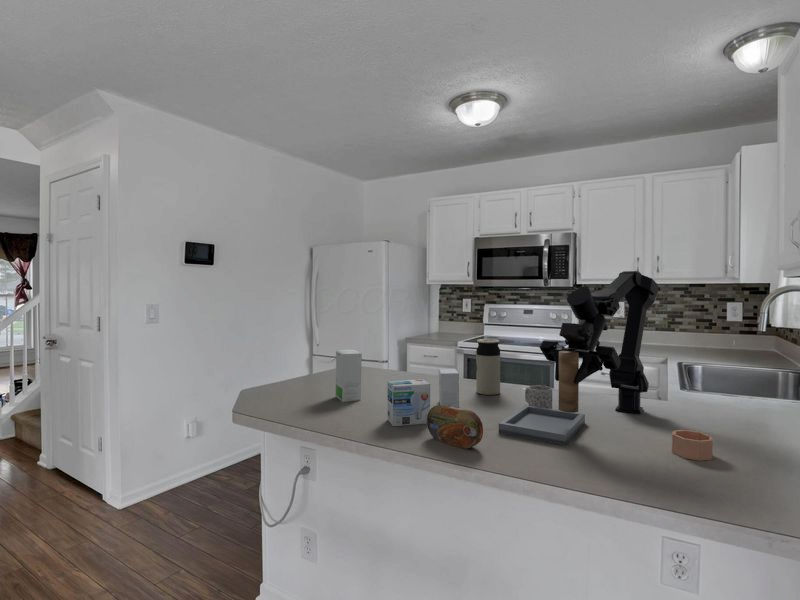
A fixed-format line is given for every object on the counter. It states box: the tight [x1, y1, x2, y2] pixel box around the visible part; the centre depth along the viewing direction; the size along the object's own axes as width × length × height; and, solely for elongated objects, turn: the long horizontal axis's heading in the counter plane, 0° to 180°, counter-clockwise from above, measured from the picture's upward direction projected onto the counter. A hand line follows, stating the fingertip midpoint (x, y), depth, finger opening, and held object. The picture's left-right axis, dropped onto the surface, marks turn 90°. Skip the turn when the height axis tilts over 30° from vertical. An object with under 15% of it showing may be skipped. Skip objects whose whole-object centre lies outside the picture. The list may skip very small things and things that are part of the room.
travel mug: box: [475, 338, 501, 396], centre depth 153 cm, size 8×8×18 cm
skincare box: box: [334, 348, 362, 403], centre depth 146 cm, size 8×7×16 cm
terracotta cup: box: [671, 429, 714, 462], centre depth 97 cm, size 7×7×4 cm
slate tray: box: [498, 404, 586, 447], centre depth 115 cm, size 20×16×2 cm
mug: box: [524, 385, 553, 409], centre depth 133 cm, size 10×7×7 cm, turn 22°
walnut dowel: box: [558, 351, 580, 413], centre depth 108 cm, size 4×4×14 cm
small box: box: [438, 368, 460, 408], centre depth 138 cm, size 8×6×10 cm
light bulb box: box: [387, 378, 431, 427], centre depth 121 cm, size 11×7×11 cm, turn 105°
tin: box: [426, 404, 484, 449], centre depth 105 cm, size 15×3×8 cm, turn 45°
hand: (565, 381), depth 108 cm, fingers closed on walnut dowel, 4 cm apart
